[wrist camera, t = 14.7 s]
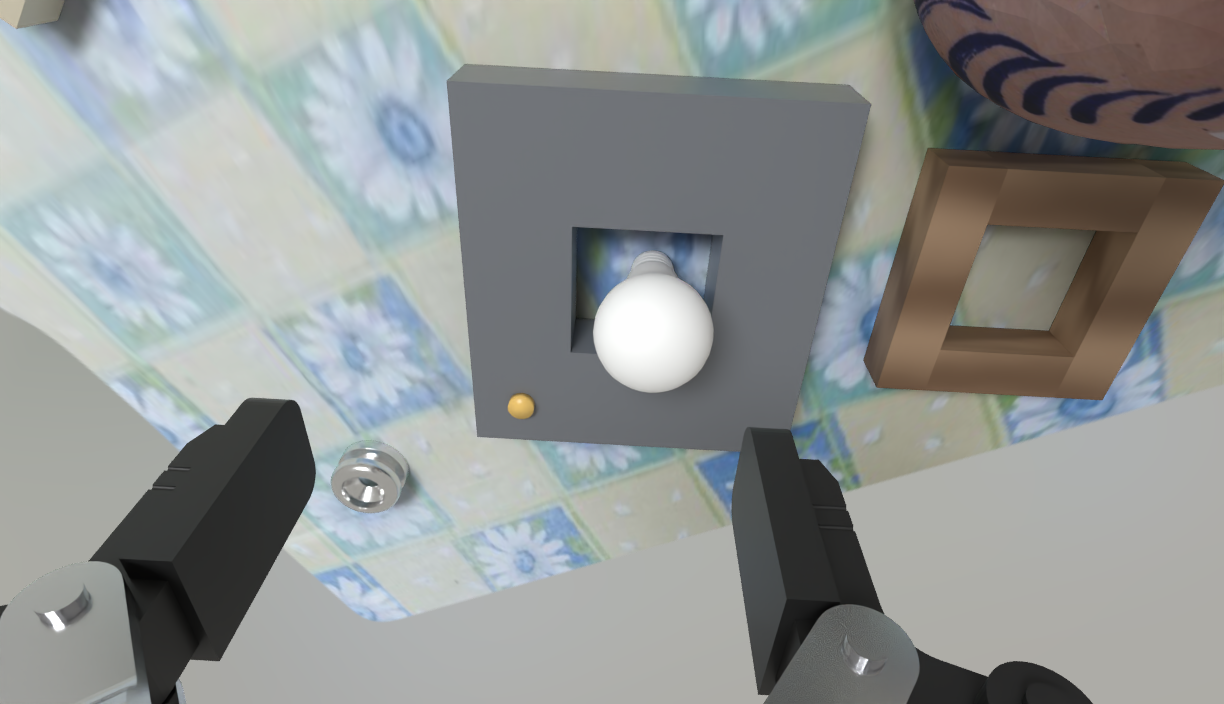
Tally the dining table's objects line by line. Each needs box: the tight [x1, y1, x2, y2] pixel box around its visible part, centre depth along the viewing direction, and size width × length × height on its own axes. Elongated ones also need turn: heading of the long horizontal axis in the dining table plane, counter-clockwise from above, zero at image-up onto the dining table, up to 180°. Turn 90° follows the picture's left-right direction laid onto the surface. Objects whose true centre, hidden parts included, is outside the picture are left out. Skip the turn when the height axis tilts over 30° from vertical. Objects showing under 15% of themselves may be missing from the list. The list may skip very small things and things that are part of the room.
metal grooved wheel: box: [331, 440, 409, 513], centre depth 50 cm, size 5×3×5 cm
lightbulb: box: [593, 250, 714, 393], centre depth 37 cm, size 6×6×11 cm
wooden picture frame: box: [863, 148, 1224, 400], centre depth 39 cm, size 14×14×3 cm
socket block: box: [447, 64, 871, 452], centre depth 39 cm, size 22×20×5 cm
